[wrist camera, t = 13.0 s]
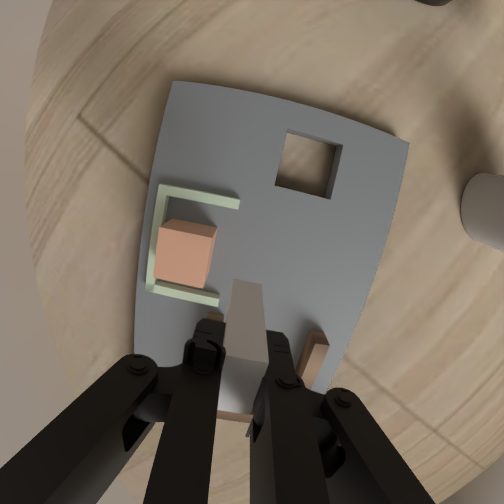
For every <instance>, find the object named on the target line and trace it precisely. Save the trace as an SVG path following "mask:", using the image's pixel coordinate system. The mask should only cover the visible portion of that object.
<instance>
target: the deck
mask: <svg viewBox="0 0 504 504" xmlns="http://www.w3.org/2000/svg"><path fill="white" fill-rule="evenodd" d="M287 133H291V134H295V135H299V136H302V137H306V138H309V139H313V140H316V141H320V142H323V143H327V144H330V145H333V146H336V151H335V155H334V160H333V164H332V168H331V173H330V177H329V181H328V185H327V189H326V193H325V197H324V198H323V197H320V196H316V195H312V194H308V193H304V192H300V191H297V190H293V189H288V188H284V187H280V186H276V185H275V181H276V177H277V172H278V168H279V164H280V159H281V155H282V151H283V147H284V142H285V138H286V134H287ZM409 144H410V143H409V142H406V141H404V140H402V139H400V138H397V137H395V136H393V135H390V134H388V133H385V132H383V131H380V130H378V129H375V128H373V127H370V126H368V125H365V124H362V123H360V122H357V121H354V120H351V119H348V118H345V117H343V116H340V115H337V114H333V113H330V112H327V111H324V110H321V109H317V108H314V107H311V106H307V105H304V104H300V103H296V102H293V101H289V100H285V99H281V98H277V97H273V96H268V95H264V94H259V93H254V92H250V91H245V90H239V89H234V88H228V87H222V86H216V85H209V84H202V83H194V82H186V81H176V80H173V82H172V86H171V89H170V93H169V97H168V100H167V104H166V108H165V112H164V116H163V120H162V124H161V128H160V133H159V137H158V142H157V146H156V151H155V156H154V161H153V166H152V171H151V176H150V182H149V188H148V194H147V200H146V206H145V213H144V220H143V228H142V235H141V244H140V253H139V263H138V274H137V287H136V302H135V325H134V354H142V355H145V356H148V357H150V358H151V359H153V360H154V361H155V362H156V364H157V365H158V367H172V366H176V365H179V364H181V363H182V361H183V353H184V346H185V343H186V342H187V340H189V339H191V338H192V337H193V334H194V331H195V328H196V324H197V322H199V321H200V320H201V319H203V318H207V316H208V312H212V313H217V314H222V315H224V319H225V314H226V310H227V305H228V300H229V296H230V291H231V287H232V283H233V278H234V279H239V280H244V281H248V282H253V283H258V284H262V294H263V305H264V315H265V326H266V330H271V331H277V332H283V333H284V335H285V336H286V337H287V338H288V340H289V344H290V349H291V354H292V358H293V363H294V368H296V366H297V363H298V361H299V358H300V355H301V353H302V350H303V347H304V345H305V342H306V339H307V337H308V334H309V331H310V330H314V331H321V332H324V333H325V335H326V338H327V340H328V342H329V344H330V347H329V349H328V352H327V354H326V356H325V359H324V361H323V363H322V366H321V368H320V370H319V372H318V375H317V377H316V379H315V381H314V383H313V386H312V388H311V390H312V391H315V392H318V393H321V394H325V392H326V391H327V389H328V387H329V385H330V382H331V380H332V378H333V376H334V374H335V372H336V370H337V368H338V366H339V364H340V361H341V359H342V357H343V355H344V353H345V350H346V348H347V346H348V344H349V341H350V339H351V337H352V334H353V332H354V329H355V327H356V325H357V322H358V320H359V317H360V315H361V312H362V309H363V307H364V304H365V302H366V299H367V296H368V294H369V291H370V288H371V285H372V282H373V280H374V277H375V274H376V271H377V268H378V265H379V262H380V259H381V256H382V253H383V249H384V246H385V243H386V239H387V236H388V233H389V229H390V226H391V222H392V219H393V215H394V211H395V207H396V203H397V199H398V195H399V191H400V187H401V183H402V178H403V174H404V169H405V164H406V159H407V154H408V149H409ZM159 184H168V185H173V186H179V187H184V188H189V189H195V190H200V191H205V192H210V193H215V194H220V195H225V196H229V197H234V198H239V199H240V203H239V208H238V210H237V209H233V208H228V207H223V206H218V205H213V204H208V203H203V202H198V201H193V200H188V199H183V198H178V197H173V196H169V200H168V206H167V212H166V218H165V223H166V222H168V221H169V220H171V219H172V218H174V219H179V220H184V221H189V222H194V223H199V224H203V225H208V226H213V227H218V228H217V233H216V238H215V243H214V248H213V253H212V259H211V264H210V269H209V273H208V276H207V279H206V282H205V285H204V287H203V289H202V288H197V287H193V286H188V285H184V284H179V283H175V282H170V281H166V280H162V279H157V281H161V282H165V283H170V284H174V285H178V286H183V287H187V288H192V289H196V290H201V291H206V292H210V293H215V294H220V298H219V303H218V307H215V306H210V305H205V304H201V303H196V302H192V301H187V300H183V299H178V298H174V297H170V296H165V295H161V294H157V293H153V292H149V291H145V286H146V275H147V265H148V256H149V247H150V240H151V232H152V225H153V218H154V211H155V205H156V199H157V193H158V187H159ZM223 322H224V321H223Z"/></svg>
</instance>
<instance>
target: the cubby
mask: <svg viewBox="0 0 504 504" xmlns="http://www.w3.org/2000/svg"><path fill="white" fill-rule="evenodd" d="M207 319H211V320H216V321H221V322H223V321H224V315H222V314H217V313H212V312H208V316H207ZM329 347H330V344H329V342H328V340H327V338H326V335H325V333H324V332H321V331H314V330H310V331H309V334H308V337H307V339H306V342H305V345H304V347H303V350H302V353H301V355H300V358H299V361H298V363H297V366H296V368H295V373H296V374H297V375H298V376H299V377H300V378H302V380H303V382H304V384H305V387H306V388H308V389H310V390H311V388H312V386H313V383H314V381H315V379H316V377H317V375H318V372H319V370H320V368H321V366H322V363H323V361H324V359H325V356H326V354H327V352H328V349H329ZM216 418H218V419H224V420H231V421H238V422H246V423H251V420H252V418H253V409H252V411H251V414H250V415H246V414H239V413H233V412H227V411H221V410H217V417H216Z"/></svg>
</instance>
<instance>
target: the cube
mask: <svg viewBox="0 0 504 504" xmlns="http://www.w3.org/2000/svg"><path fill="white" fill-rule="evenodd" d="M217 228H218V227H213V226H208V225H203V224H199V223H194V222H189V221H184V220H179V219H174V218H172V219H171V220H169V221H168V222H166V223H165V224H163V225H162V226H160V227H159V233H158V240H157V248H156V256H155V264H154V273H153V278H157V279H162V280H166V281H170V282H175V283H179V284H184V285H188V286H193V287H197V288H202V289H203V287H204V285H205V282H206V279H207V276H208V273H209V269H210V264H211V259H212V253H213V248H214V243H215V238H216V233H217Z"/></svg>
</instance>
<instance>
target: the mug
mask: <svg viewBox="0 0 504 504" xmlns="http://www.w3.org/2000/svg"><path fill="white" fill-rule="evenodd" d="M461 218H462V223H463V226H464V229H465V231H466V232H467V234H468V235H469V236H470V237H471V238H472V239H473V240H475V241H477V242H480V243H482V244H485V245H488V246H490V247H493V248H495V249H497V250H500V251H502V252H504V176H502V175H495V174H489V173H479V174H477V175H475V176H473V177H472V178H471V179H470V180H469V182H468V183H467V185H466V187H465V189H464V192H463V196H462V201H461Z"/></svg>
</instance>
